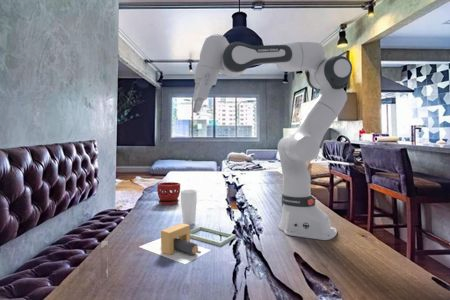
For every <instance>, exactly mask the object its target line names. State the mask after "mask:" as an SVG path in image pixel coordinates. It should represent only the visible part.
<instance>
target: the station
mask: <svg viewBox="0 0 450 300" xmlns="http://www.w3.org/2000/svg"><path fill="white" fill-rule="evenodd" d="M138 248H140V249H143V250H145V251H148V252H151V253H154V254H156V255H159V256H161V257H165V258H167V259H170V260H172V261H175V262H177V263H180V264H183V265H187V264H189V263H191V262H192V261H194V260H196V259H198V258H200V257H201V256H203V255H205V254H207V253H208V252H210V251H212V250H211V249H209V248H206V247H202V246H199V245H198V252H197V253H196V254H195V255H190V254H187V253H184V252H181V251H178V250H175V249H174V253H173V254H171V255H168V254H166V253H163V252H161V237H160V238H158V239H155V240H153V241H150V242H146V243H145V244H143V245H139V246H138Z"/></svg>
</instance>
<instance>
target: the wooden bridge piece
mask: <svg viewBox="0 0 450 300" xmlns="http://www.w3.org/2000/svg"><path fill="white" fill-rule="evenodd" d="M190 230H191V224H190V225H188V224H184V223H183V222H181V223H178V224H174V225H172V226H170V227H169V226H168V227H167V228H164V229H161V230H160V238H161V252H163V253H166V254H168V255H171V254H173V253H174V245H173V239H175V238H178V239H181V240H185V241H188V242H191V238H190Z"/></svg>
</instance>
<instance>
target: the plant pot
mask: <svg viewBox="0 0 450 300" xmlns="http://www.w3.org/2000/svg"><path fill="white" fill-rule="evenodd" d="M156 187H157V189H156V190H157V196H158V198H159V200H158V204H160V205H162V206H173V205H176V204H178V203H179V202H180V201H179V196H180V195H181V183H180V182H173V181H171V182H169V181H168V182H159V183H157V185H156Z"/></svg>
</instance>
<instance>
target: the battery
mask: <svg viewBox="0 0 450 300" xmlns="http://www.w3.org/2000/svg"><path fill="white" fill-rule="evenodd" d="M173 245H174V249H175V250H178V251H181V252H184V253H187V254H190V255H195V254H196V253H197V252H198V246H199V245H198V244H197V243H194V242H192V241H190V242H188V241H185V240H181V239H178V238H175V239H173Z"/></svg>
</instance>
